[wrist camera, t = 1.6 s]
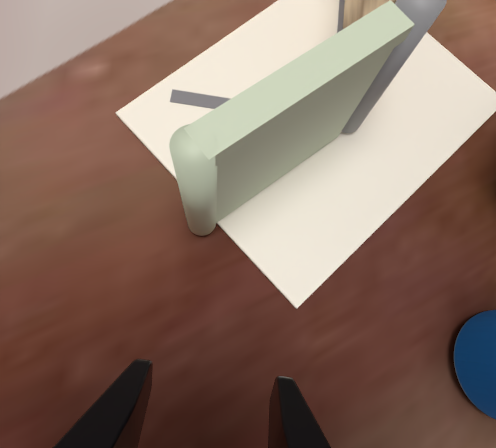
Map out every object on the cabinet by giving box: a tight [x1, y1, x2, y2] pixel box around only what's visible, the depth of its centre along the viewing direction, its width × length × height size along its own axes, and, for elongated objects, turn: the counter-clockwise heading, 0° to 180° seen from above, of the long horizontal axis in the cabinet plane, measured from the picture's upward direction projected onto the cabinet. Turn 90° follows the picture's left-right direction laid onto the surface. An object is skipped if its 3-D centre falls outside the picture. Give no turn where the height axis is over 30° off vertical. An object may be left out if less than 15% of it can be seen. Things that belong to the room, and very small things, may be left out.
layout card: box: [116, 0, 496, 309], centre depth 28 cm, size 18×23×1 cm
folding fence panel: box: [169, 0, 446, 236], centre depth 20 cm, size 14×2×10 cm, turn 128°
